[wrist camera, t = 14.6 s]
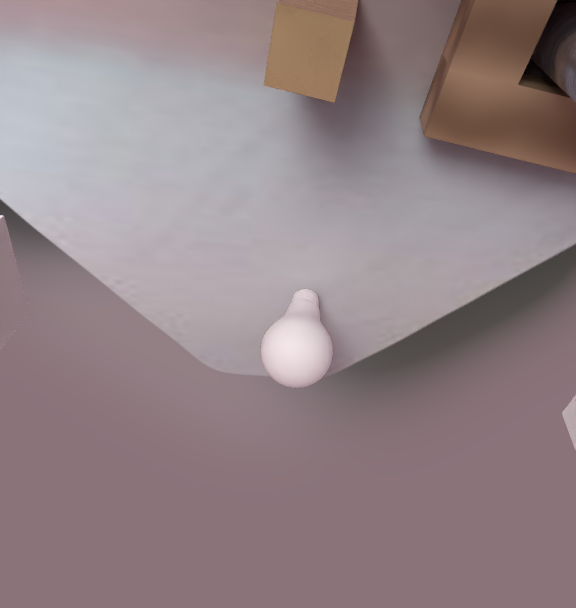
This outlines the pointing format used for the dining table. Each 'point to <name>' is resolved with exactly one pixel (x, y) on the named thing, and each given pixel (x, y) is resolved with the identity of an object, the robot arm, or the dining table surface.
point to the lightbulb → (298, 344)
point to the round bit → (559, 48)
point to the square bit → (310, 46)
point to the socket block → (500, 87)
